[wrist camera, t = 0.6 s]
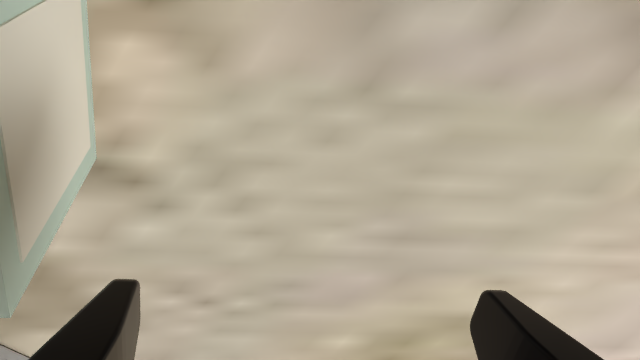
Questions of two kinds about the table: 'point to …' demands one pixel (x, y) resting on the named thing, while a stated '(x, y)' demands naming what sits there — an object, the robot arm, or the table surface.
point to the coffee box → (10, 354)
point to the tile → (40, 130)
